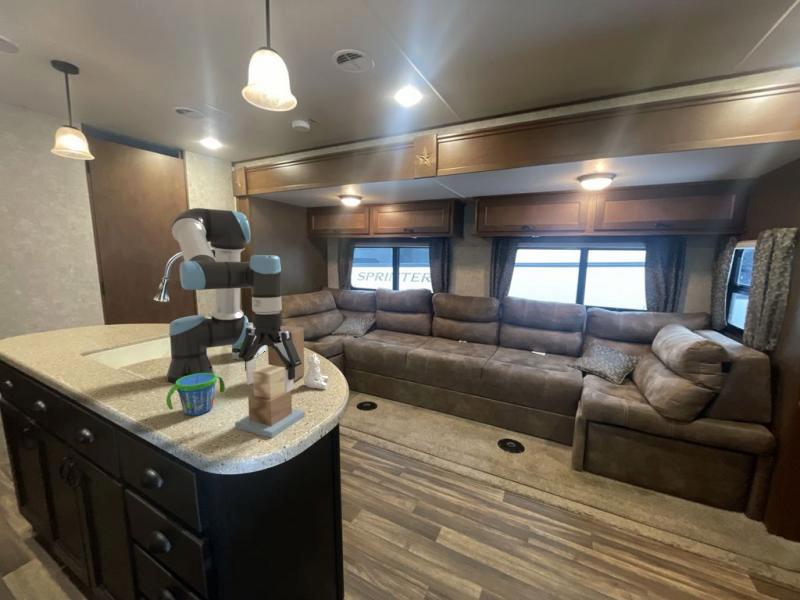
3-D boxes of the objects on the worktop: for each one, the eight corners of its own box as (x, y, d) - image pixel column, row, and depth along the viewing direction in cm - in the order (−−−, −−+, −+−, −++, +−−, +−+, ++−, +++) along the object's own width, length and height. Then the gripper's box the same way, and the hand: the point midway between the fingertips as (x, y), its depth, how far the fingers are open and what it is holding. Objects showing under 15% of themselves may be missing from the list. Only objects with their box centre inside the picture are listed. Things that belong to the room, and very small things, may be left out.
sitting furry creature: (326, 390, 117) (326, 357, 115) (301, 391, 115) (301, 358, 114) (328, 380, 126) (328, 350, 124) (305, 381, 125) (304, 350, 123)
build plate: (235, 427, 90) (235, 422, 90) (270, 408, 102) (270, 403, 102) (272, 437, 85) (272, 432, 85) (304, 416, 97) (304, 411, 97)
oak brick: (253, 395, 91) (252, 371, 90) (269, 387, 96) (269, 364, 95) (270, 399, 88) (269, 374, 88) (286, 391, 94) (285, 367, 93)
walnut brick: (249, 420, 91) (248, 396, 90) (270, 408, 98) (269, 386, 98) (271, 426, 88) (270, 401, 87) (291, 413, 95) (291, 390, 95)
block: (292, 385, 121) (290, 331, 118) (268, 382, 123) (266, 330, 120) (305, 375, 131) (304, 326, 128) (282, 373, 133) (281, 325, 130)
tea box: (253, 360, 150) (252, 328, 148) (231, 359, 150) (230, 328, 148) (267, 351, 165) (266, 322, 163) (247, 350, 165) (246, 321, 163)
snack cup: (174, 426, 90) (171, 390, 89) (162, 414, 97) (160, 381, 96) (232, 407, 102) (231, 376, 101) (218, 398, 109) (217, 368, 107)
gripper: (222, 310, 91) (226, 384, 93) (294, 317, 81) (296, 399, 84) (244, 307, 98) (247, 375, 100) (313, 313, 88) (314, 388, 91)
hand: (269, 386), depth 92 cm, fingers open, 13 cm apart
